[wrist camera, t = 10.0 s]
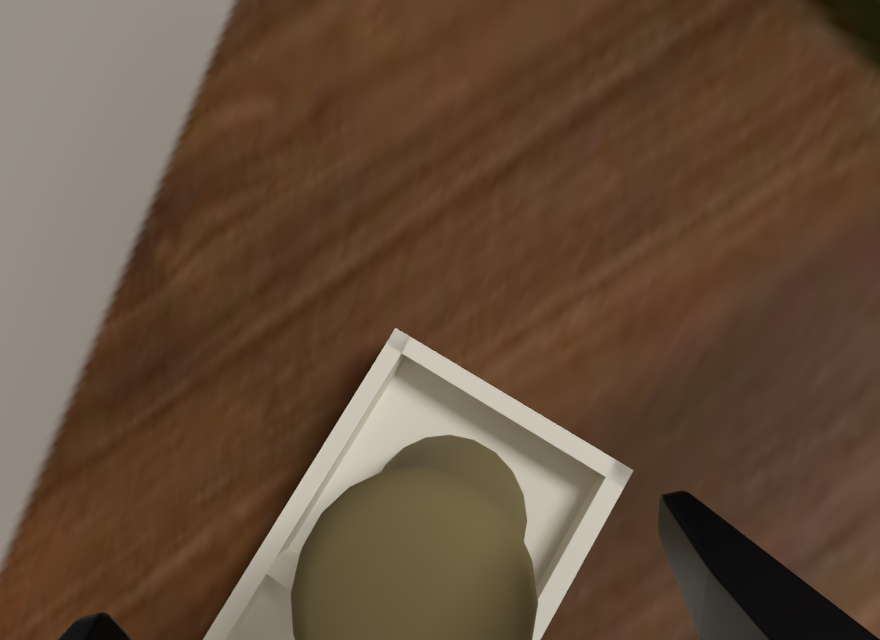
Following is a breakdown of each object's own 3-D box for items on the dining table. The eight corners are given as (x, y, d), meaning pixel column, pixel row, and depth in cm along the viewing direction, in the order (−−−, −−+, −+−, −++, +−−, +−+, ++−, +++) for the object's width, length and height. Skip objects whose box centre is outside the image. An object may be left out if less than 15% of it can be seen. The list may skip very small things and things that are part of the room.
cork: (460, 638, 20) (427, 887, 10) (336, 527, 21) (180, 639, 11) (560, 504, 21) (636, 597, 10) (433, 402, 22) (381, 387, 11)
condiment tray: (354, 945, 20) (339, 1003, 18) (137, 767, 21) (102, 802, 19) (620, 465, 22) (633, 470, 20) (403, 335, 23) (395, 328, 21)
